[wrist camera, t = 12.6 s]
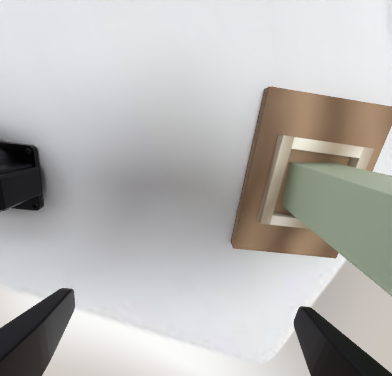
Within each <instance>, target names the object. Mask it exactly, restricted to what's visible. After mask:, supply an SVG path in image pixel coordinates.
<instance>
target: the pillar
mask: <svg viewBox="0 0 392 376" xmlns="http://www.w3.org/2000/svg"><path fill="white" fill-rule="evenodd" d="M282 206H283V207H284V208H285V209H286V210H288V211H289V212H290V213H291V214H292V215H294V216H295V217H296V218H297V219H299V220H300V221H301V222H302V223H303V224H305V225H306V226H307V227H308V228H309V229H311V230H312V231H313V232H314V233H316V234H317V235H318V236H319V237H320V238H322V239H323V240H324V241H325V242H326V243H328V244H329V245H330V246H331V247H333V248H334V249H335V250H336V251H337V252H339V253H340V254H341V255H342V256H343V257H345V258H346V259H347V260H348V261H350V262H351V263H352V264H353V265H355V266H356V267H357V268H358V269H359V270H360V271H362V272H363V273H364V274H365V275H366V276H368V277H369V278H370V279H371V280H373V281H374V282H375V283H376V284H377V285H379V286H380V287H381V288H382V289H384V290H385V291H386V292H387V293H388V294H390V295H391V296H392V176H390V175H385V174H381V173H377V172H372V171H368V170H364V169H359V168H355V167H351V166H346V165H342V164H338V163H318V162H289V168H288V173H287V179H286V185H285V190H284V196H283V202H282Z"/></svg>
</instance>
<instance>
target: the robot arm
mask: <svg viewBox="0 0 392 376" xmlns="http://www.w3.org/2000/svg"><path fill="white" fill-rule="evenodd" d="M29 149H30V150H31V153H30V152H29ZM35 204H36V205H37V206H36V205H35ZM42 207H43V201H42V189H41V180H40V170H39V164H38V154H37V149H36V148H35V147H34V146H32V145H27V144H19V143H11V142H3V141H0V212H1V211H5V210H7V209H9V208H16V209H26V210H39V209H41V208H42ZM74 308H75V298H74V290H73V289H69V288H61V289H59V290H58V291H56V292H55V293H53V294H52V295H50V296H48V297H47V298H45V299H44V300H42V301H41V302H39V303H38V304H36V305H35V306H33V307H32V308H30V309H29V310H27V311H26V312H24V313H23V314H21V315H20V316H18V317H16V318H15V319H14V320H12V321H10V322H9V323H7V324H6V325H4V326H3V327H1V328H0V376H42V374H43V373H44V371H45V369H46V367H47V366H48V364H49V362H50V360H51V358H52V356H53V354H54V352H55V350H56V348H57V346H58V343H59V341H60V339H61V337H62V335H63V333H64V331H65V329H66V326H67V324H68V322H69V320H70V318H71V316H72V313H73V311H74ZM294 328H295V331H296V334H297V337H298V339H299V343H300V346H301V349H302V351H303V354H304V358H305V360H306V363H307V366H308V369H309V372H310V374H311V376H392V374H391V373H390V372H389V371H388V370H387V369H385V368H384V367H383V366H382V365H380V364H379V363H378V362H377V361H376V360H374V359H373V358H372V357H371V356H369V355H368V354H367V353H366V352H365V351H363V350H362V349H361V348H360V347H358V346H357V345H356V344H355V343H354V342H352V341H351V340H350V339H349V338H348V337H346V336H345V335H344V334H342V333H341V332H340V331H339V330H338V329H337V328H335V327H334V326H333V325H332V324H330V323H329V322H328V321H327V320H326V319H324V318H323V317H322V316H321V315H319V314H318V313H317V312H316V311H315V310H313V309H312V308H310V307H303V306H301V307H299V309H298V311H297V314H296V316H295V319H294Z"/></svg>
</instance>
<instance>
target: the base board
mask: <svg viewBox="0 0 392 376" xmlns="http://www.w3.org/2000/svg"><path fill="white" fill-rule="evenodd" d="M391 126H392V107H391V106H385V105H379V104H373V103H367V102H360V101H354V100H348V99H342V98H336V97H330V96H324V95H318V94H312V93H306V92H300V91H294V90H288V89H282V88H276V87H268V88H266V89H265V90H264V94H263V99H262V103H261V108H260V112H259V117H258V121H257V126H256V131H255V135H254V140H253V144H252V149H251V153H250V158H249V162H248V167H247V172H246V176H245V181H244V185H243V190H242V194H241V199H240V203H239V208H238V213H237V217H236V222H235V226H234V231H233V235H232V240H231V243H232V246H233V248H236V249H246V250H257V251H267V252H277V253H288V254H298V255H308V256H319V257H329V258H336V257H337V255H338V252H337V251H336V250H335V249H334V248H333V247H331V246H330V245H329V244H328V243H326V242H325V241H324V240H323V239H322V238H320V237H319V236H318V235H317V234H316V233H314V232H313V231H312V230H311V229H309V228H308V227H307V226H306V225H305V224H303V223H302V222H301V221H300V220H299V219H297V218H296V217H295V216H294V215H292V214H291V213H290V212H289V211H288V210H286V209H285V208H284V207H283V206H282V202H283V196H284V190H285V185H286V179H287V173H288V168H289V162H318V163H338V164H342V165H346V166H351V167H355V168H359V169H364V170H368V171H373V169H374V166H375V164H376V162H377V159H378V157H379V154H380V152H381V150H382V147H383V145H384V143H385V140H386V138H387V135H388V133H389V131H390V128H391Z"/></svg>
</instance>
